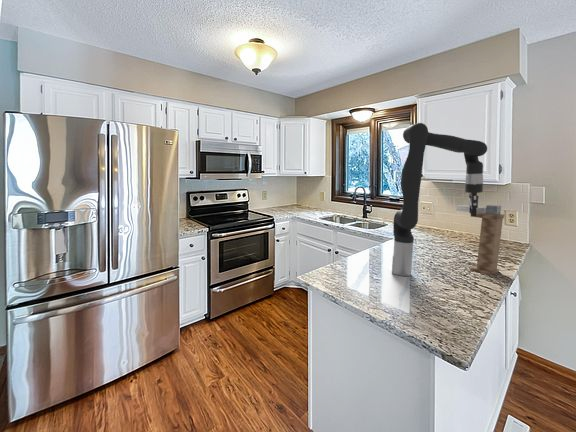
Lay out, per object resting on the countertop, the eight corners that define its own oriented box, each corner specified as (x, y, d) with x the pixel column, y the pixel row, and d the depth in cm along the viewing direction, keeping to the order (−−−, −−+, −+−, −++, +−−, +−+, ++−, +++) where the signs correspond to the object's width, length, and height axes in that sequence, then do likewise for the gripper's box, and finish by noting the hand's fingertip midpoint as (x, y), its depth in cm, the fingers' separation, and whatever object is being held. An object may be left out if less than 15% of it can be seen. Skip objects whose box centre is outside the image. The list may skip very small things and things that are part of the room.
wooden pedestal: (465, 268, 162) (470, 212, 157) (473, 265, 168) (479, 211, 163) (490, 275, 152) (497, 215, 147) (498, 271, 158) (505, 214, 153)
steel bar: (455, 210, 166) (456, 202, 166) (459, 210, 169) (460, 202, 168) (496, 215, 150) (497, 206, 149) (500, 214, 153) (501, 205, 152)
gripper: (464, 182, 156) (463, 212, 158) (466, 183, 143) (465, 216, 145) (481, 181, 152) (479, 212, 155) (484, 183, 140) (483, 217, 142)
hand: (472, 214), depth 150 cm, fingers open, 8 cm apart
